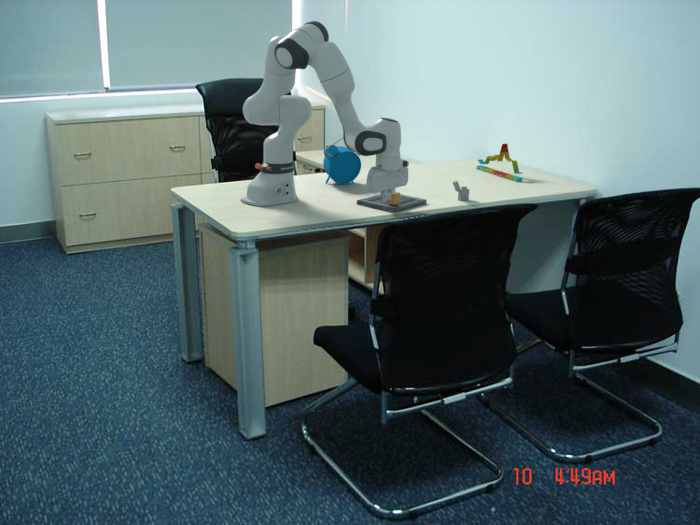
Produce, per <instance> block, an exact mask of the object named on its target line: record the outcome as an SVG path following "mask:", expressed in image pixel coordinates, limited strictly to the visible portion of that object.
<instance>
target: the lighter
mask: <svg viewBox="0 0 700 525" xmlns="http://www.w3.org/2000/svg"><path fill="white" fill-rule="evenodd" d="M452 184H453V187H454V190H455V192H457V193H458V194H457V201H459V202H464V201H469V200H470V188H468V187H467V186H461V187H460V184H459V181H458V180H453V181H452Z"/></svg>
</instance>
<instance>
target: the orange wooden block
mask: <svg viewBox="0 0 700 525" xmlns="http://www.w3.org/2000/svg"><path fill="white" fill-rule="evenodd" d="M400 194H401V192H397V191H395V192H393V193H392V196H391V200H390V201H388V203H389V204H394V205H395V204H399V203H400Z"/></svg>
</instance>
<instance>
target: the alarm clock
mask: <svg viewBox="0 0 700 525" xmlns="http://www.w3.org/2000/svg"><path fill="white" fill-rule="evenodd" d="M341 140H344V139H343V137H341V138H339V139H337V140H336V141H335V142H334V143H331V144H327V145H326V146H325V147H324V148H323V156H324V158H323V160H322V161H323V163H322V164H323V165H322V166H323V169H324V171H325V173H326V174H327V175H328V177H327V179H326V180H325V184H328V182H329V180H330V179H331V180H332V181H333V182H335V183H336V184H338V185H348V184H349V183H351V182H352V183H353V182H354V180H355V179H356V178H357V177H358V176H359V174H360V173H361V169H362V162H361V158H360V157H361V155H360V154H358V153H356V152H354V151H351V150H349V149H348V148H347V147H346V146H337V145H336V144H337V143H338V142H340V141H341Z"/></svg>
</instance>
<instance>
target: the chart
mask: <svg viewBox="0 0 700 525" xmlns="http://www.w3.org/2000/svg"><path fill="white" fill-rule="evenodd" d="M504 159H505V160H506V161H507V162H510V163H512V169H513V172H514V174H515V175H514V174H511V173H507V172H504V171H501V170H497V169H494V168H491V167H488V166H484V165H489V164H490V162H495V161H497V162H503V160H504ZM517 161H518V160H513V159H512V158H511V156H510V152H509V146H508V143H502V145H501V147H500V151H499V154H494V155H488V156H486V158H485V161H484V160H483V159H477V162H478V163H479V164H480V165H476V168H475V169H476V170H478V171H481V172H484V173H487V174H491V175H494V176H495V177H496V176H497V177H500V178H502V179H506V180H509V181H512V182H515V183H522V182H523V179H524V178H523V177H520V176H517V174H518V175H519V174H523V172H520V169H519V165H518V162H517Z"/></svg>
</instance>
